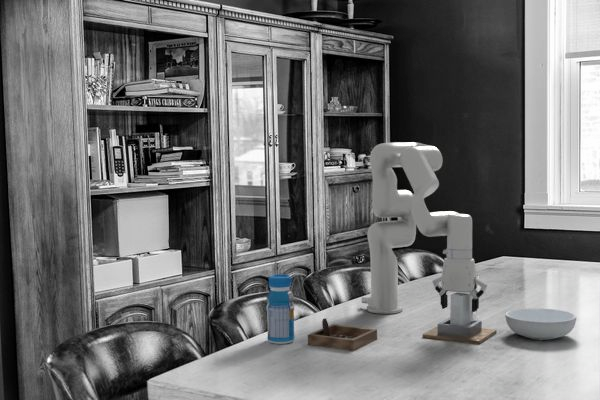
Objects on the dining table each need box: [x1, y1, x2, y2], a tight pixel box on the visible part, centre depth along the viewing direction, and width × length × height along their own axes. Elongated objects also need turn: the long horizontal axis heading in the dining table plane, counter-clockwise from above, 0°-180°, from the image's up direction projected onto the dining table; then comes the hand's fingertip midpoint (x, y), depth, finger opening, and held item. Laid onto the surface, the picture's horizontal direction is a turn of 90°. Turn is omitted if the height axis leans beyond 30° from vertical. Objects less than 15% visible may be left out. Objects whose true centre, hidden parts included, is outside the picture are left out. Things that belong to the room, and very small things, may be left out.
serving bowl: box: [504, 307, 577, 341], centre depth 251 cm, size 21×21×7 cm
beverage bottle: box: [266, 273, 295, 345], centre depth 249 cm, size 8×8×20 cm
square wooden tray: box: [307, 323, 378, 352], centre depth 248 cm, size 15×15×3 cm
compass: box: [321, 318, 350, 339], centre depth 249 cm, size 8×8×7 cm
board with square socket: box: [422, 317, 497, 345], centre depth 254 cm, size 18×16×4 cm
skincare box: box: [449, 292, 471, 326], centre depth 253 cm, size 6×4×12 cm
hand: (459, 309), depth 253 cm, fingers open, 9 cm apart
